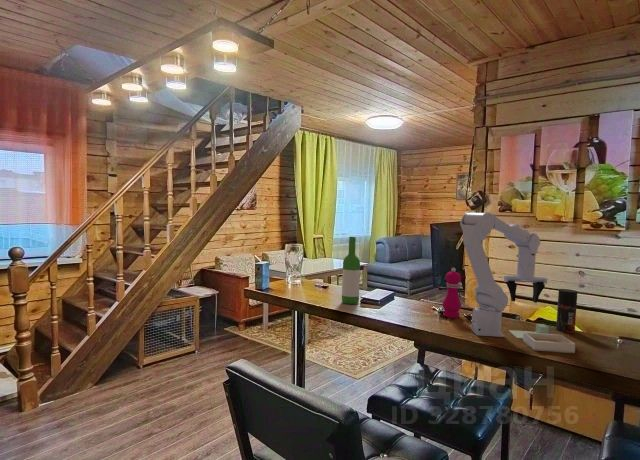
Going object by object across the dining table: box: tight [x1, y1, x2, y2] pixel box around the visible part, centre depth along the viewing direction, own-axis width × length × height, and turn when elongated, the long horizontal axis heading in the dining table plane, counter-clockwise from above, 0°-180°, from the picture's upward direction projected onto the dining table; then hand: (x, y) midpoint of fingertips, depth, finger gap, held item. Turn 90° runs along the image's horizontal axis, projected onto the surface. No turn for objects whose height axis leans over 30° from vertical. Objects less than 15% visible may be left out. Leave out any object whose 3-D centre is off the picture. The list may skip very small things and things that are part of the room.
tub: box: [522, 332, 576, 354], centre depth 130 cm, size 12×9×3 cm
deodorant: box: [555, 288, 578, 334], centre depth 149 cm, size 6×6×15 cm
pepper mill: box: [442, 267, 462, 319], centre depth 164 cm, size 7×7×20 cm
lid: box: [508, 323, 550, 340], centre depth 142 cm, size 12×9×4 cm
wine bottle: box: [341, 236, 361, 305], centre depth 182 cm, size 8×8×30 cm
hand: (523, 301), depth 149 cm, fingers open, 7 cm apart
